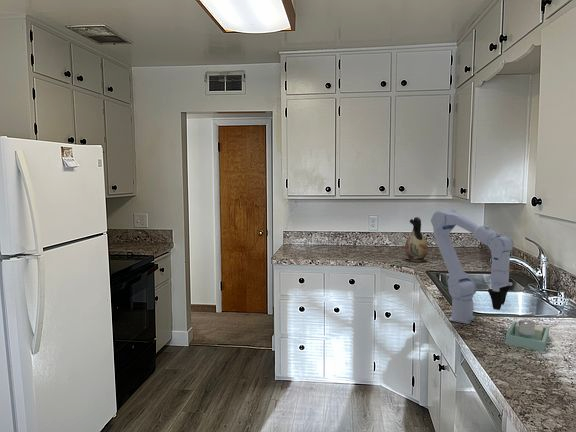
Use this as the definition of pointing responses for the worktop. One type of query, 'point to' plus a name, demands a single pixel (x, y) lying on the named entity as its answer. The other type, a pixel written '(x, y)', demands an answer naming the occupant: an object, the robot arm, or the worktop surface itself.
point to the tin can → (526, 329)
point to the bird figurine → (416, 243)
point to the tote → (526, 339)
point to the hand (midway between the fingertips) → (498, 306)
